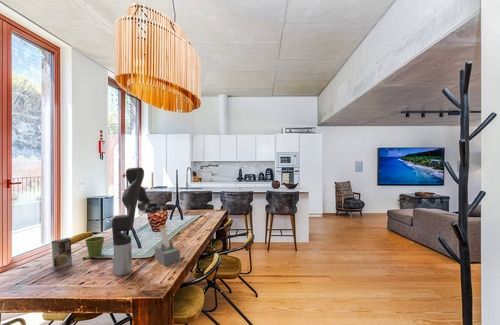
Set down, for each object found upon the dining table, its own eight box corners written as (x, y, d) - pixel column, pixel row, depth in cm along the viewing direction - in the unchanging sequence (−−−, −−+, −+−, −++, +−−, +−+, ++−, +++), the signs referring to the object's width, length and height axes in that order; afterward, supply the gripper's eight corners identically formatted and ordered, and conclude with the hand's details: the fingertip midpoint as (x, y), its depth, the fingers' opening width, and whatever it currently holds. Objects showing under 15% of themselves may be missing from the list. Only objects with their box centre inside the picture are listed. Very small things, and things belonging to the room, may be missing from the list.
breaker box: (155, 258, 166) (154, 241, 165) (170, 254, 172) (169, 238, 172) (164, 266, 153) (163, 248, 153) (179, 261, 160) (179, 244, 160)
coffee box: (70, 262, 162) (69, 237, 162) (72, 265, 158) (71, 239, 158) (52, 266, 156) (51, 240, 156) (53, 269, 151) (52, 243, 151)
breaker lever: (164, 249, 162) (158, 226, 168) (169, 247, 164) (164, 225, 170) (165, 247, 160) (159, 225, 166) (170, 246, 162) (165, 224, 168)
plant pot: (96, 259, 167) (95, 242, 166) (80, 258, 169) (80, 241, 169) (109, 252, 178) (108, 236, 178) (95, 251, 180) (94, 235, 180)
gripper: (141, 203, 179) (148, 206, 167) (161, 201, 188) (169, 204, 176) (141, 214, 179) (148, 218, 167) (161, 211, 188) (169, 214, 176)
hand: (159, 210), depth 171 cm, fingers open, 8 cm apart
